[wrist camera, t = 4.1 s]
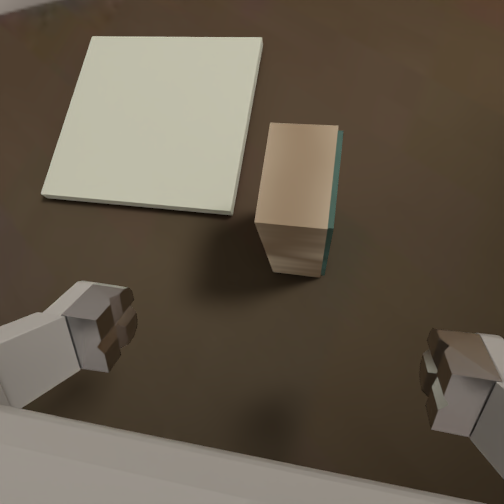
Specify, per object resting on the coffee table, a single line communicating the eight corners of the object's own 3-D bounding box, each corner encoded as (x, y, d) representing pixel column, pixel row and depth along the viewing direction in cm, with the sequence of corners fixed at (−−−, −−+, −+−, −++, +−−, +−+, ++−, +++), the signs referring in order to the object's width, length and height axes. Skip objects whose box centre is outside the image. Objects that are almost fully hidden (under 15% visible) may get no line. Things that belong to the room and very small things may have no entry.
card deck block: (331, 207, 21) (343, 125, 13) (323, 277, 20) (333, 229, 12) (282, 203, 21) (270, 122, 14) (273, 271, 20) (254, 222, 13)
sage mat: (262, 45, 24) (261, 37, 24) (232, 215, 21) (230, 211, 21) (96, 43, 26) (92, 36, 26) (47, 197, 23) (40, 194, 23)
